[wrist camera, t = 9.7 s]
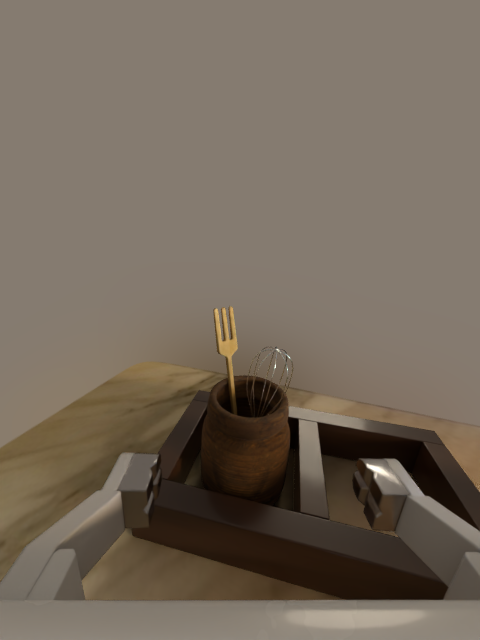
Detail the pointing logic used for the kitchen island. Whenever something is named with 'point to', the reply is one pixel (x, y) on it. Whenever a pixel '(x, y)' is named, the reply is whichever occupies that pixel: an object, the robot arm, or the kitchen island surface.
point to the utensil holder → (245, 429)
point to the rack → (310, 509)
